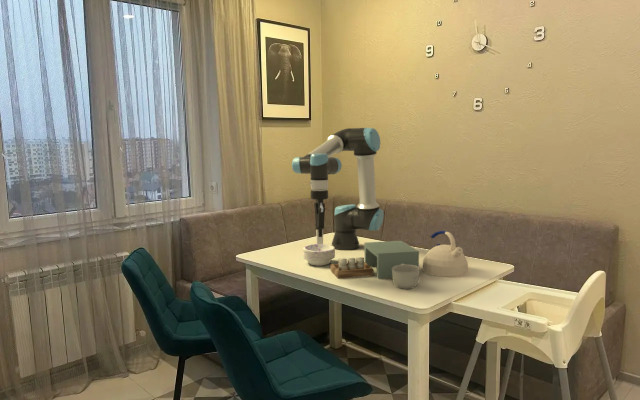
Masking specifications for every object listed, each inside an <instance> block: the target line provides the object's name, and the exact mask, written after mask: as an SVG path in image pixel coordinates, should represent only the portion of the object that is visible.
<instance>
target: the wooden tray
mask: <svg viewBox="0 0 640 400" xmlns="http://www.w3.org/2000/svg"><path fill="white" fill-rule="evenodd" d="M330 272H331V273H332V274H333V275H334V277H336V278H337V279H347V278H348V279H349V278H361V277H371V276H372V277H373V276H374V267H373V266H369V265H368V264H366V263H365V257H362V256H358V257H356V258H355V257H347V258H342V257H341V258H339V259H338V263H334V264H333V263H331V264H330Z"/></svg>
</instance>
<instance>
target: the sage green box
mask: <svg viewBox="0 0 640 400" xmlns="http://www.w3.org/2000/svg"><path fill="white" fill-rule="evenodd" d="M419 255H420V251H419V250H417V249H416V248H415V247H413V246H410V244H408V243H406V242H405V241H403V240H390V241H389V240H387V241H385V240H384V241H368V242H367V241H366V242H364V262H365V263H366V264H368V265H369V266H370V267H376V278H377V279H378V280H385V279H393V276H392V267H394V266H397V265H401V264H406V265H415V266H418V267H419V268H420V256H419Z"/></svg>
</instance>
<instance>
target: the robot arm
mask: <svg viewBox="0 0 640 400" xmlns="http://www.w3.org/2000/svg"><path fill="white" fill-rule="evenodd" d="M380 148H381V137H380V135H379V131H377V129H376V128H373V127H355V128H354V127H353V128H349V127H348V128H344V129H340V130H338V131H336V132H335V133H332V134H331V135H330V136H328V137H327V139H326V141H325V142H323V143H322V144H320V145H319V146H317V147H316V148H315V149H313V150H311V151H310V152H308V153H307V154H305V155H304V156H302V157H301V156H298V157H297V156H296V157H294V158H293V159H292V161H291V162H292V163H291V168H292V171H293V172H294V173H295V174H301V175H310V182H309V185H310V189H311V190H310V199H311V200H313V201H314V200H315V202H314V204H313V206H314V220H315V221H314V222H315V224H314V225H315V230H316V233H315V234H316V240H315V241H316V242H315V244H324V229H325V215H326V213H325V211H326V206H325V205H326V203H324V200H327V199H328V198H329V190H328V189H329V175H335V174H338V173H340V172H341V170H342V165H343V164H342V162H341V160H340V159H339V158H338V157H334V155H335V154H339V153H341V152H353V156H354V157H355V158H356V161H357V163H356V164H357V178H358V182H357V183H358V193H359V194H358V195H359V196H358V197H359V202H358V204H357V205H356V204H354V203H353V204H352V203H351V204H344V205H337V206H336V207H335V208H334V235H333V238H332V241H331V245H332V246H334V247H335V250H339V251H340V250H341V251H349V250H350V251H351V250H356V249H359V248H360V241H359V237H358V234H357V230H360V231H368V232H371V231H372V232H373V231H375V232H376V231H379V230H380V229H381V227H382V224H383V222H384V216H385V214H384V210H383V209H381V208H380V204H379V203H378V202H377V194H376V177H375V176H376V174H375V173H376V172H375V157H376V155H377V154H378V153H377V152H378V151H380Z"/></svg>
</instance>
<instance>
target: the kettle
mask: <svg viewBox="0 0 640 400" xmlns="http://www.w3.org/2000/svg"><path fill="white" fill-rule="evenodd" d="M441 234H442V235H443V234H444V235H446V236H447V237H448V239H449V241H450V244H440V243H436V246H434V247H432V248H430V249H429V250H428V251H427V253H426V254H425V255H424V258H423V261H422V269H421V270H422V271H423V273H426V274H428V275H430V276H431V275H432V276H437V277H444V278H445V277H447V278H452V277H453V278H454V277H456V278H457V277H461V276H466V275H467V274H468V273H469V261H468V260H467V259H468V258H467V257H466V255H465V254H464V249H463V248H462V247H460V246H457V247H456V245H457V244H456V240H455V236H453V234H452V233H451V232H449V231H447V230H439V231H435V232H433V234H432V235H431V236H430V238H432V239H435V238H436V237H437V236H439V235H441Z"/></svg>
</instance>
